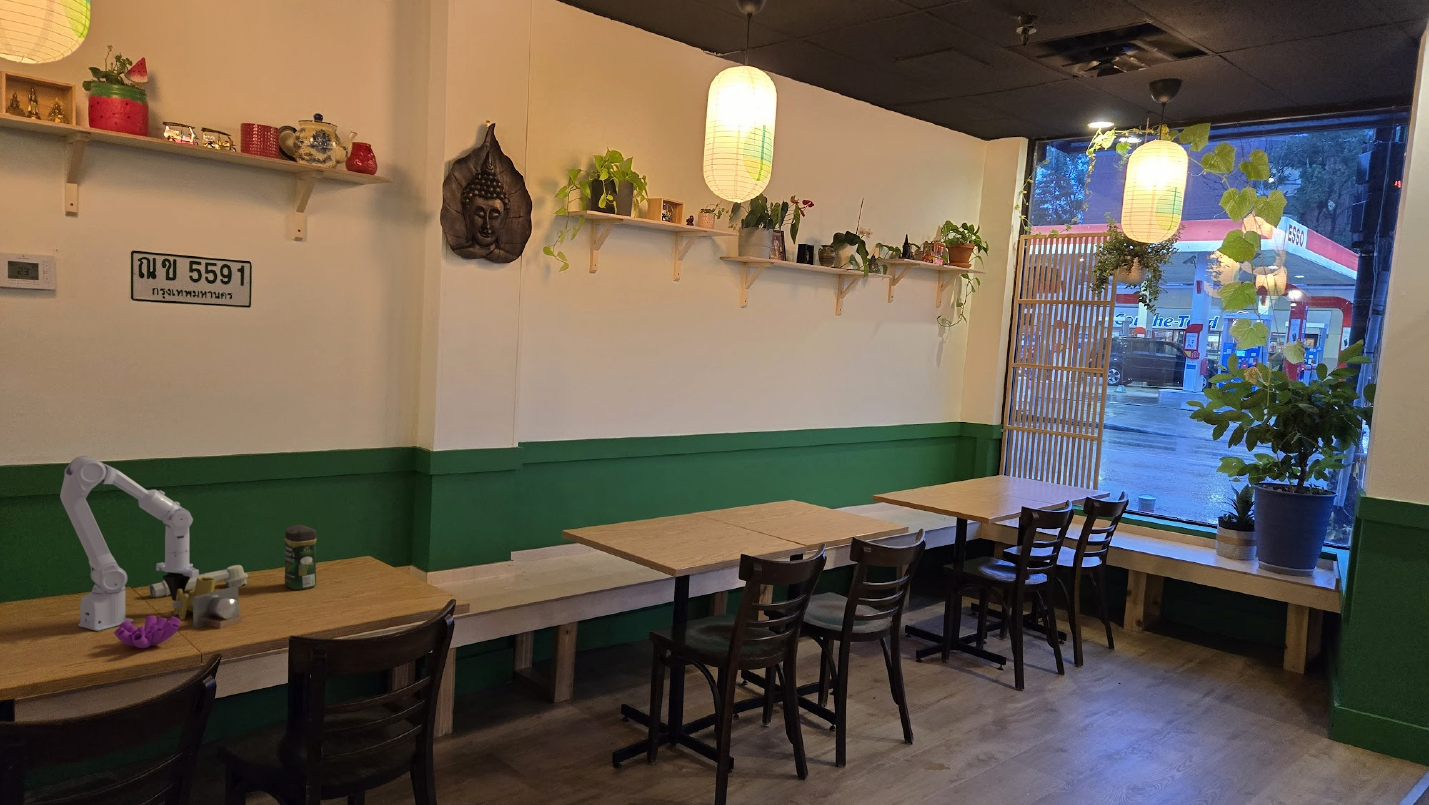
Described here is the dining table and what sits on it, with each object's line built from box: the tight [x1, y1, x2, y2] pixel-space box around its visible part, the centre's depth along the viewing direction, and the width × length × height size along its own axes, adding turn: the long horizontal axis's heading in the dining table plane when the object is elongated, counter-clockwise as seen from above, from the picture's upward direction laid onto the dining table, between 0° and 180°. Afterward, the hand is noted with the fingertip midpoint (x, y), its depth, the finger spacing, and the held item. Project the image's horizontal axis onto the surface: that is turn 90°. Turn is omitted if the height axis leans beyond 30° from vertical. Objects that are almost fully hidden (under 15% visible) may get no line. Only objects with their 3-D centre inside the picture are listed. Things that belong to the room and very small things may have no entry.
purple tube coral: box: [113, 615, 182, 649], centre depth 226 cm, size 11×15×10 cm
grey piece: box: [148, 564, 249, 599], centre depth 272 cm, size 5×7×25 cm
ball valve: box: [171, 577, 217, 621], centre depth 250 cm, size 13×10×10 cm
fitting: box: [192, 586, 243, 629], centre depth 244 cm, size 12×7×8 cm, turn 156°
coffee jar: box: [284, 524, 318, 591], centre depth 280 cm, size 10×8×19 cm
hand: (177, 600), depth 252 cm, fingers closed
